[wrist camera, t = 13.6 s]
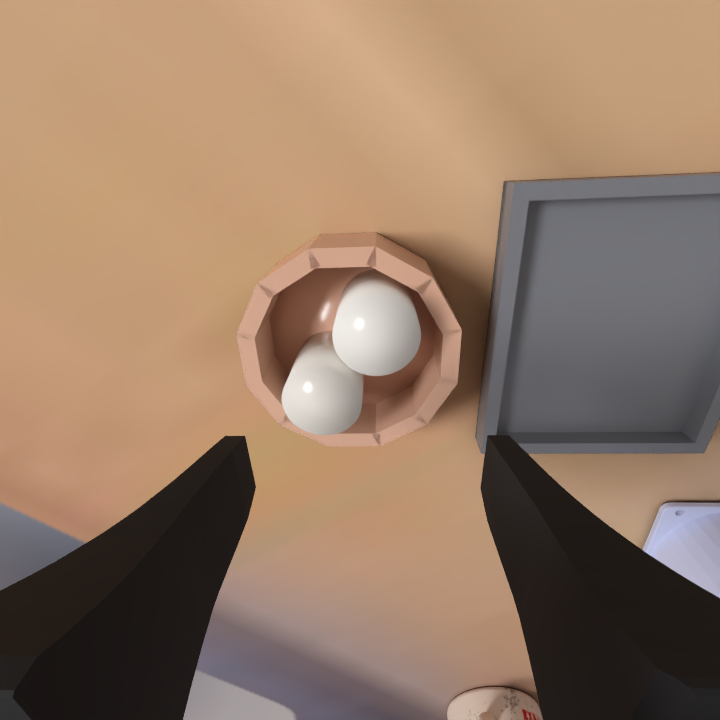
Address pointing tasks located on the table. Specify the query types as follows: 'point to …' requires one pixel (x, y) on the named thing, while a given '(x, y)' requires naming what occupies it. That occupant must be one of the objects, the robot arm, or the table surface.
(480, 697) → the teacup with lid
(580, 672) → the robot arm
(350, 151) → the table surface
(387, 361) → the white egg
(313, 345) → the stone pebble far
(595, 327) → the parts tray
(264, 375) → the bowl
